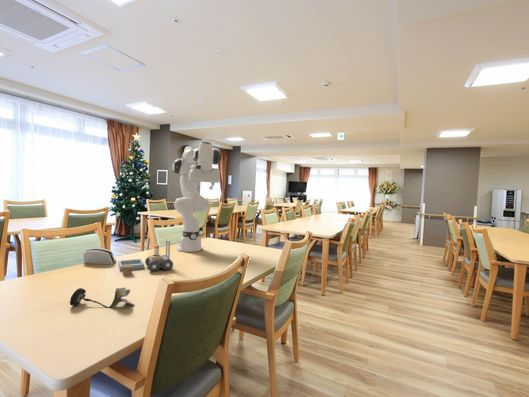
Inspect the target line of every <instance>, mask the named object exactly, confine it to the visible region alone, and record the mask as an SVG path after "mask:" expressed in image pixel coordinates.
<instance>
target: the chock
mask: <svg viewBox="0 0 529 397" xmlns="http://www.w3.org/2000/svg"><path fill="white" fill-rule="evenodd" d="M121 272H122V276H123V277H125V276H133V270H132V265H131V264H124V265H123V271H121Z"/></svg>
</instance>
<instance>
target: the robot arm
mask: <svg viewBox="0 0 529 397" xmlns="http://www.w3.org/2000/svg"><path fill="white" fill-rule="evenodd" d="M221 160H222V154H221V152H220V150H218V149H213V144H212V143H211V142H207V141H200V142H199V146H198V147H197V148H189V149H186V150H185V151H183V153H182V156H181V158H180V157H178V158H177V159H176V160H174V161H173V162H172V166H171V170H172V172H173V173H174V174H176V175H180V174H181V175H180V177H179V186H180V191H181V195H182V196H183V197H178V198H176V199H175V201H174V202H173V206H174V210H175V211H176V212H178V213H179V214H180V215H181V218H182V221H183V230H182V236H181V238H180V239H179V240H177V245H176V249H177V251H178V252H186V253H187V252H188V253H189V252H190V253H193V252H194V253H195V252H200V251H201V250H203V249H204V247H203V246H202V238H201V237H200V235H201V234H200V220H199V219H198V218H196V217H195V216H193V213H204V212H207V211H208V210H209V209H210V206H211V205H210V204H211V203H210V201H209V200H208V198H206V197H203V196H202V195H201V194H200V193H199V191H198V190H199V187H200V186H198V182H199V183H210V184H211V185H210V186H209V188H208V189H209V190H210V191H211V190H213V187H214V186H215V183H217V184H218V183H220V182H221V178H220V176H221V175H220V174H221V172H220V171H221V170H220V169H219V168H215V167H214V168H213V165H218V164H219V163H220V162H221Z"/></svg>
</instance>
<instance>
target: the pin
mask: <svg viewBox="0 0 529 397" xmlns="http://www.w3.org/2000/svg"><path fill="white" fill-rule="evenodd" d="M153 250H154V254H153V255H154V257H155V256H159V254H160V245H159V244H156V245H154V249H153Z"/></svg>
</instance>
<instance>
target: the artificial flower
mask: <svg viewBox="0 0 529 397" xmlns="http://www.w3.org/2000/svg"><path fill="white" fill-rule="evenodd" d="M86 292H87V291H86V289H84V288H82V287H80V288H77V289H76V290H75V291H74V292H73V294H72V295H71V296H70V300H69V304H70V306H72V307H73V306H74V307H76V306H77V305H79V304H80V303H81V301H82V300H83V301H85V302H92V303H95V304H97V305H99V306H102V307H103V308H105V309H111V308H115V307H117V306H118V305H119V304H120V303H122V302H123V303H127V304H130V305H133V306H135V305H134V304H135V303H134V304H133V303H132V302H131V301H130V300H127V298H126V297H128V296H129V294H130V293H131V289H127V288H126V287H121V288H118V287H117V288H116V289H115V292H114V297H113V301H112V302H111V304H110V306H107V305H105V304H102V303H101V302H98V301H96V300H92V299H90V298H86V295H87V294H86Z"/></svg>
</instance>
